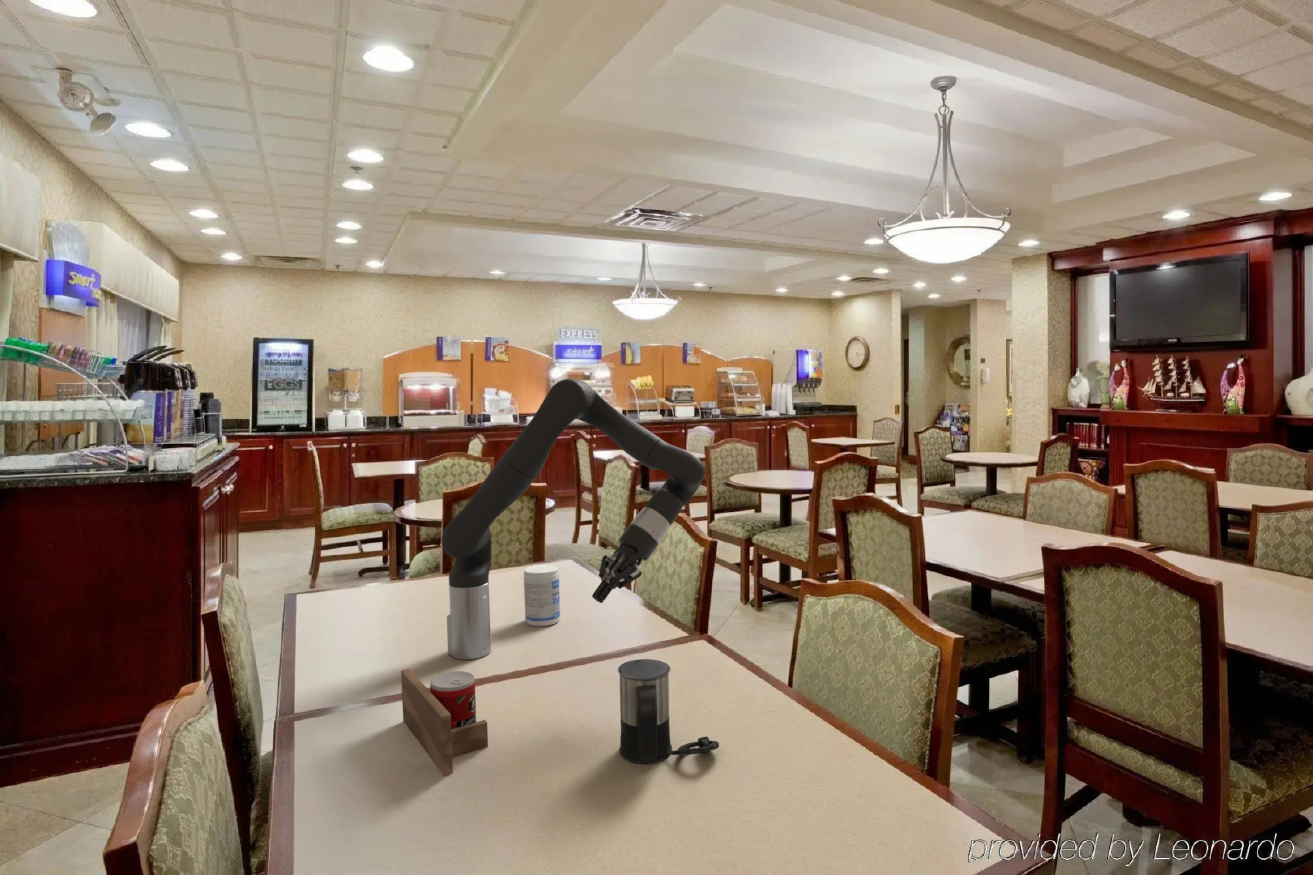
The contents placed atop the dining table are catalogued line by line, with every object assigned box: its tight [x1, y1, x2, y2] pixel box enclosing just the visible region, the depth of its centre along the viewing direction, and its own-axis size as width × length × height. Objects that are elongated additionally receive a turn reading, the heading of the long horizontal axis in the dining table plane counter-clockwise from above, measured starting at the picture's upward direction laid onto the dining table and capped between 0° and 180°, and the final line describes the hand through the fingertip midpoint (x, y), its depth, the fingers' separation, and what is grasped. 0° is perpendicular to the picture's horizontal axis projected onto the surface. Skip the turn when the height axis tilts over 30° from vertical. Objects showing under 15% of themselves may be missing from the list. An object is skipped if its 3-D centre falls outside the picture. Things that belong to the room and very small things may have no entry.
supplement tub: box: [523, 564, 561, 627], centre depth 194 cm, size 10×10×15 cm
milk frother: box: [617, 658, 720, 764], centre depth 123 cm, size 14×16×15 cm
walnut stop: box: [400, 668, 489, 776], centre depth 129 cm, size 10×24×10 cm, turn 35°
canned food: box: [429, 670, 477, 729], centre depth 129 cm, size 8×8×11 cm
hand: (596, 600), depth 146 cm, fingers closed
